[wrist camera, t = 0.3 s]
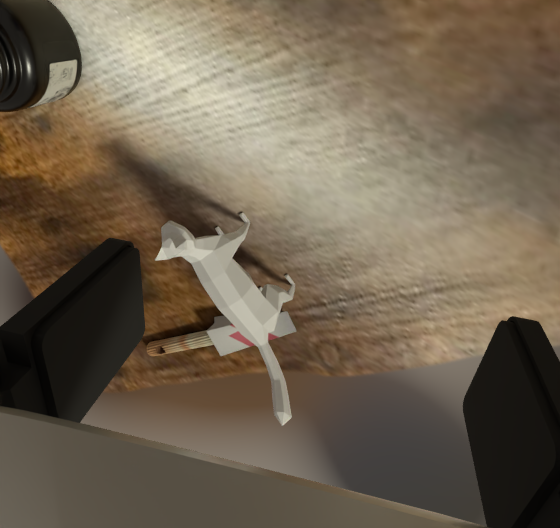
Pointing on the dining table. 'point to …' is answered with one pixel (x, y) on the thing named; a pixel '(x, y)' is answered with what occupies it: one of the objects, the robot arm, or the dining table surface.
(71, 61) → the ink bottle
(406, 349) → the dining table surface
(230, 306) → the cat figurine
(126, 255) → the robot arm
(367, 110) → the dining table surface
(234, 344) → the paintbrush
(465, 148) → the dining table surface
